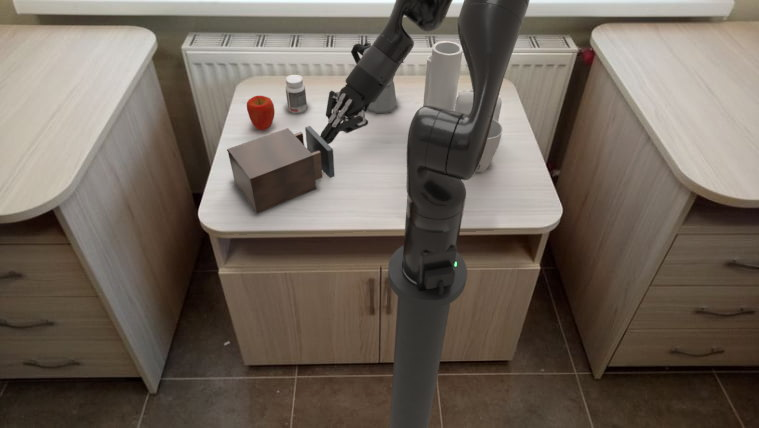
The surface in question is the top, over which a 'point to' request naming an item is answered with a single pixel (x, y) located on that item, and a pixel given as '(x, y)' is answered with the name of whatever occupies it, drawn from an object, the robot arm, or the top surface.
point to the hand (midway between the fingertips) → (324, 141)
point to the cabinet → (272, 169)
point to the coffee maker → (388, 96)
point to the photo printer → (466, 103)
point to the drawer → (318, 152)
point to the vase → (443, 75)
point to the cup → (491, 145)
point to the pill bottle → (296, 94)
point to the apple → (261, 112)
